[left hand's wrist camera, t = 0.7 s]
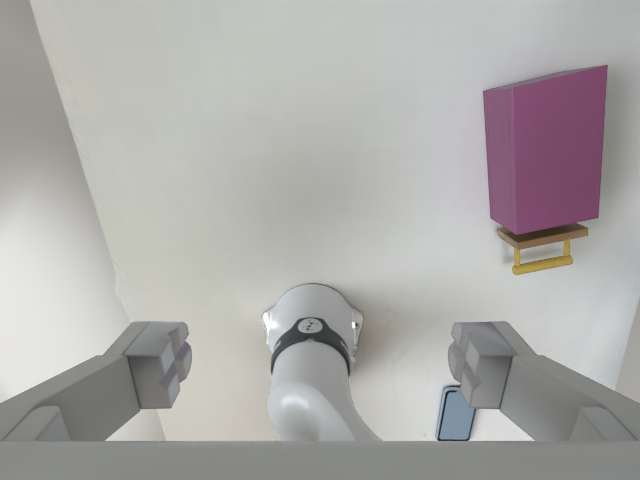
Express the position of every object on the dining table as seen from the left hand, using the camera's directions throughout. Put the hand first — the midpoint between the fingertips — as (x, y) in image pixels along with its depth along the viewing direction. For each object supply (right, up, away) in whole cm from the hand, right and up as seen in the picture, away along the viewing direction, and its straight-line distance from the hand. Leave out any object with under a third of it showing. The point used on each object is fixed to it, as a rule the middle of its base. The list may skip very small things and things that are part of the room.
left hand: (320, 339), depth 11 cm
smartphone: (+29, -34, +62) cm, 76 cm away
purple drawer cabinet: (+32, +17, +43) cm, 56 cm away
